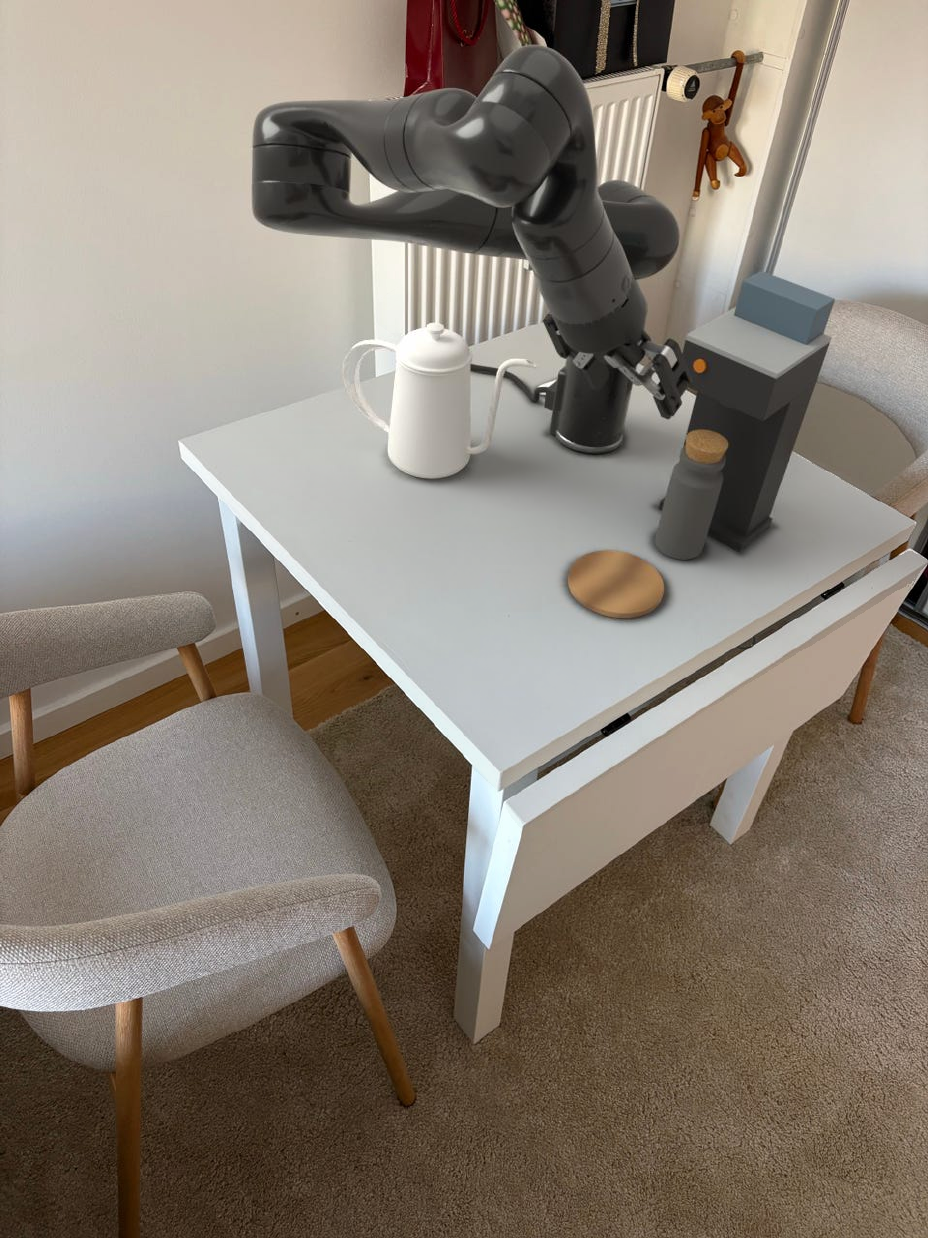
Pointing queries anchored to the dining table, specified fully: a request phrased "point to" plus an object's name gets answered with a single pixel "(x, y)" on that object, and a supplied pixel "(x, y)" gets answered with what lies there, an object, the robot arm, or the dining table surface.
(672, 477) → the bottle
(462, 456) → the coffeepot
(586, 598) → the disc
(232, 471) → the dining table surface
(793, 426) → the coffee maker
